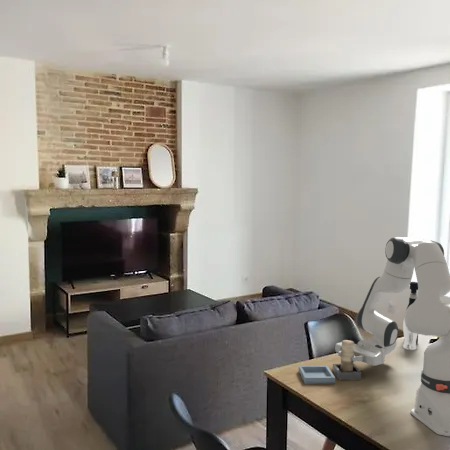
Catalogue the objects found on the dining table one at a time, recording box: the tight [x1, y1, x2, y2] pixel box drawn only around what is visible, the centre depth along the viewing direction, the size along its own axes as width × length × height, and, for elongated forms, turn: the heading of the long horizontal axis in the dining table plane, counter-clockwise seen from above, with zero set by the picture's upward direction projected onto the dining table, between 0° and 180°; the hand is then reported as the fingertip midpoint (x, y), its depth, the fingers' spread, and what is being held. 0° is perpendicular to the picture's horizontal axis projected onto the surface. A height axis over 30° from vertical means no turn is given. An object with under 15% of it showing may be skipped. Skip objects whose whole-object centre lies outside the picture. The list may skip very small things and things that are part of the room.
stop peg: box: [340, 339, 355, 372], centre depth 203 cm, size 5×5×14 cm
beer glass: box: [402, 319, 419, 351], centre depth 236 cm, size 7×7×15 cm
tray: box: [298, 365, 336, 385], centre depth 201 cm, size 12×12×2 cm
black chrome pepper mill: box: [405, 281, 419, 345], centre depth 244 cm, size 6×6×30 cm
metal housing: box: [332, 363, 362, 381], centre depth 204 cm, size 9×9×3 cm
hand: (346, 356), depth 203 cm, fingers open, 5 cm apart
